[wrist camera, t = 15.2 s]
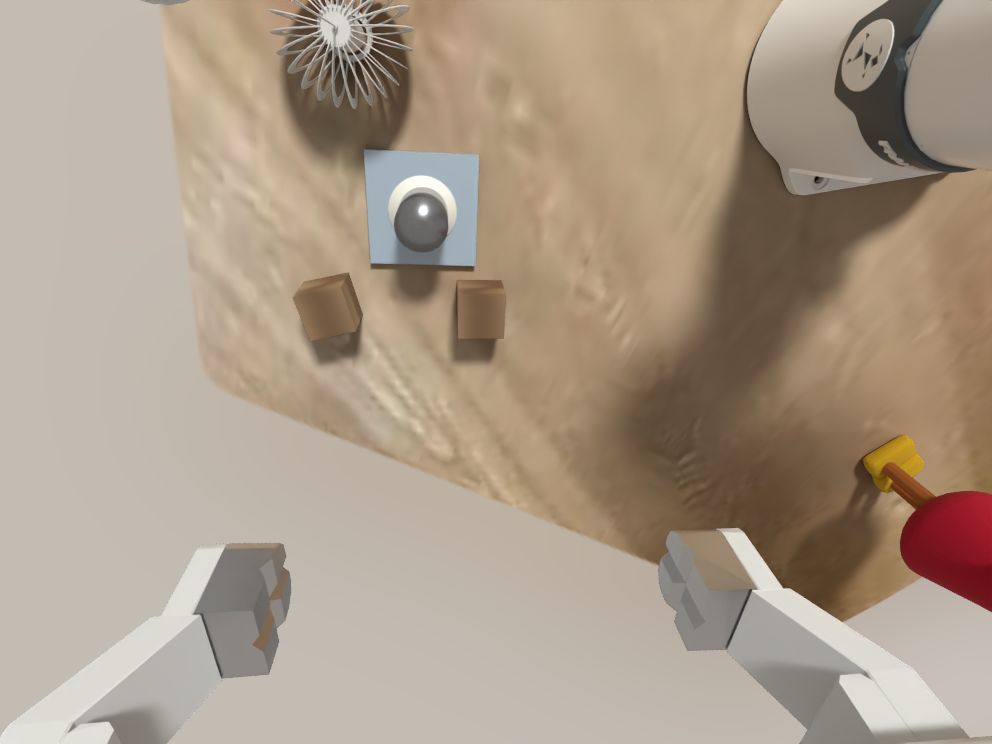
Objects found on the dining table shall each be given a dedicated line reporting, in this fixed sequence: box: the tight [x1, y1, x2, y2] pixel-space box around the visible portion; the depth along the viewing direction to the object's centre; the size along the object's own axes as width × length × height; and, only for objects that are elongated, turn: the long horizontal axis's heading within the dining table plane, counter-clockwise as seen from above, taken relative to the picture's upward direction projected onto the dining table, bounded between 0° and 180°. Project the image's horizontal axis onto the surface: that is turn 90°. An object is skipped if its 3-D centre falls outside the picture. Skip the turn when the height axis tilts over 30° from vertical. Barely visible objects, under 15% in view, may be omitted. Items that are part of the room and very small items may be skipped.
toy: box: [863, 435, 992, 612], centre depth 49 cm, size 27×11×30 cm, turn 40°
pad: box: [364, 149, 479, 266], centre depth 43 cm, size 9×9×1 cm
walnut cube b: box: [293, 273, 363, 341], centre depth 45 cm, size 4×4×4 cm
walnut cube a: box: [457, 280, 506, 339], centre depth 46 cm, size 4×4×4 cm
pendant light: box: [142, 0, 414, 109], centre depth 24 cm, size 9×9×30 cm
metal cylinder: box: [394, 187, 448, 253], centre depth 41 cm, size 4×4×5 cm
